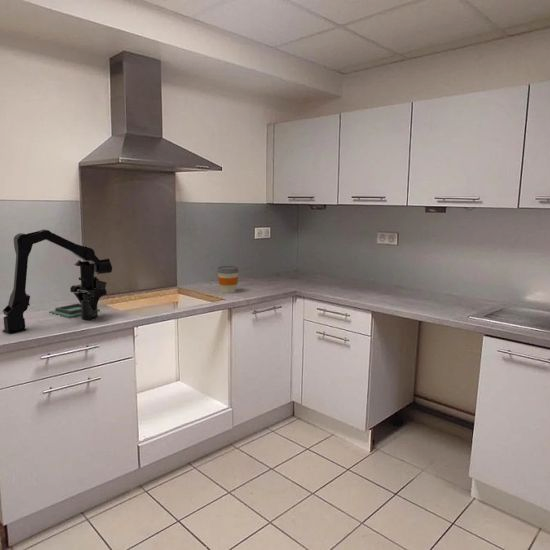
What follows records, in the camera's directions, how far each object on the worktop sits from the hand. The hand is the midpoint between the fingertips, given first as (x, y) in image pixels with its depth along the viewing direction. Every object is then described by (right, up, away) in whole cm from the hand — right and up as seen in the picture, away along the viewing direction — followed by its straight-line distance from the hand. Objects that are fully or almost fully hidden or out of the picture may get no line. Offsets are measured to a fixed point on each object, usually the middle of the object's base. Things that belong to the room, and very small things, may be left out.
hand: (89, 308), depth 195 cm
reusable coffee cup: (+56, +5, +65) cm, 86 cm away
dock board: (-12, -3, +12) cm, 17 cm away
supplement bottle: (0, -5, +1) cm, 5 cm away
